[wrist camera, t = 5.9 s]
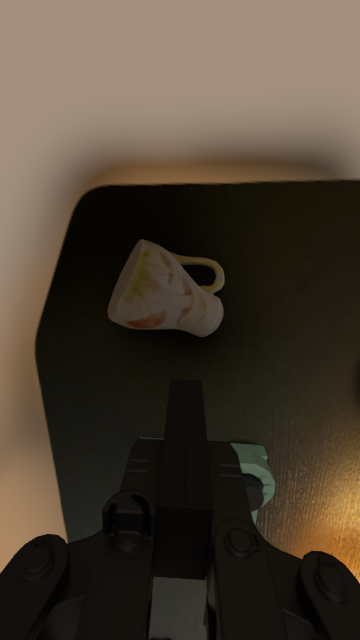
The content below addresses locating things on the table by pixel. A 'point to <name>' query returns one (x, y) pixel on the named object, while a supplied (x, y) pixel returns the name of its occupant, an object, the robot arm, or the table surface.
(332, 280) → the table surface
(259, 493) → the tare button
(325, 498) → the table surface
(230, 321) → the table surface
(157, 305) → the mug
